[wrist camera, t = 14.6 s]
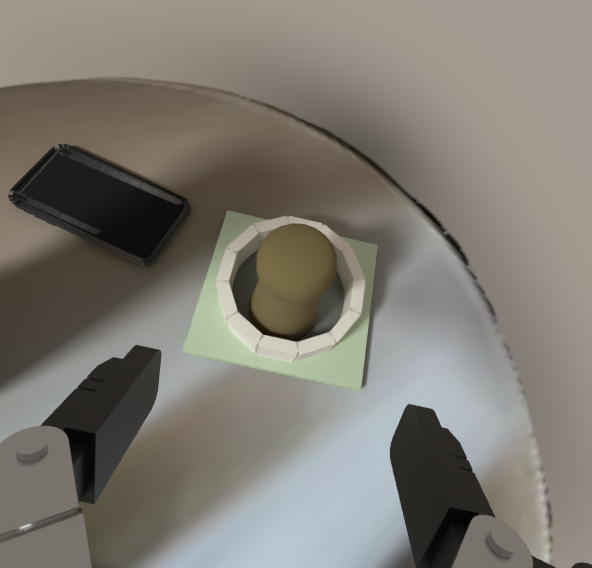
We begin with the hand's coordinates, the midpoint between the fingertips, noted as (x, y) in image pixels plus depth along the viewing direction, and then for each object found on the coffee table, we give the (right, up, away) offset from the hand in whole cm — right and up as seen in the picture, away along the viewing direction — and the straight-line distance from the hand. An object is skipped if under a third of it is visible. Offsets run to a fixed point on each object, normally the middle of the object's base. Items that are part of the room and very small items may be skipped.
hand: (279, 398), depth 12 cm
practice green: (0, +3, +22) cm, 22 cm away
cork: (-1, +1, +21) cm, 21 cm away
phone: (-18, +11, +24) cm, 32 cm away
